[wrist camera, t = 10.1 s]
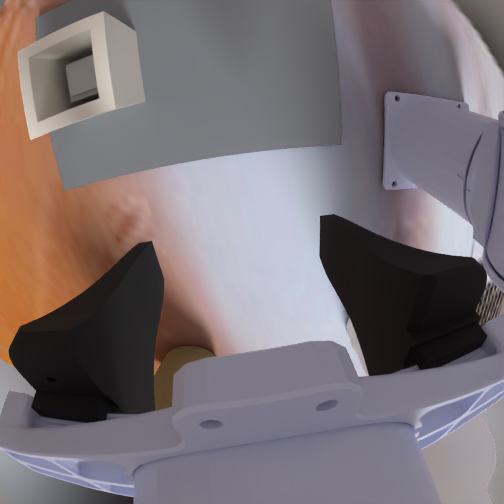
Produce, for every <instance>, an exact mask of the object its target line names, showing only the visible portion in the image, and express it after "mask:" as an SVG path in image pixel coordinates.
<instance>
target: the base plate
mask: <svg viewBox="0 0 504 504" xmlns="http://www.w3.org/2000/svg"><path fill="white" fill-rule="evenodd" d="M103 11H104V12H106V13H107V14H109V15H111V16H112V17H114V18H116V19H117V20H119V21H120V22H122V23H124V24H125V25H127V26H128V27H130V28H131V29H133V30H135V31H136V35H137V44H138V52H139V60H140V67H141V74H142V81H143V88H144V94H145V100H146V102H142V103H138V104H134V105H130V106H127V107H123V108H120V109H116V110H113V111H109V112H106V113H103V114H100V115H97V116H94V117H91V118H88V119H85V120H82V121H79V122H76V123H73V124H70V125H68V126H65V127H62V128H59V129H57V130H54V131H52V132H49V133H50V137H51V142H52V146H53V150H54V154H55V158H56V162H57V165H58V169H59V172H60V176H61V179H62V183H63V186H64V189H65V191H66V190H69V189H73V188H76V187H80V186H83V185H87V184H90V183H94V182H98V181H102V180H106V179H110V178H114V177H118V176H122V175H126V174H130V173H135V172H139V171H144V170H148V169H153V168H158V167H163V166H168V165H173V164H178V163H184V162H189V161H195V160H201V159H207V158H214V157H220V156H227V155H234V154H242V153H249V152H258V151H267V150H276V149H286V148H298V147H311V146H326V145H341V108H340V89H339V73H338V61H337V50H336V40H335V31H334V22H333V14H332V7H331V0H71V1H69V2H67V3H65V4H62V5H60V6H58V7H56V8H54V9H52V10H50V11H48V12H47V13H45V14H43V15H41V16H39V17H37V18H36V41H38V40H40V39H42V38H43V37H45V36H47V35H49V34H51V33H53V32H55V31H57V30H59V29H62V28H64V27H66V26H68V25H70V24H73V23H75V22H77V21H80V20H82V19H84V18H87V17H89V16H92V15H95V14H97V13H100V12H103ZM66 73H67V81H68V87H69V94H70V100H71V103H72V102H78V101H83V103H84V104H85V103H88V102H91V101H94V100H96V99H99V94H98V88H97V81H96V74H95V67H94V59H93V55H90V56H87V57H85V58H82V59H80V60H77V61H75V62H72V63H70V64H68V65H66Z"/></svg>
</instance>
